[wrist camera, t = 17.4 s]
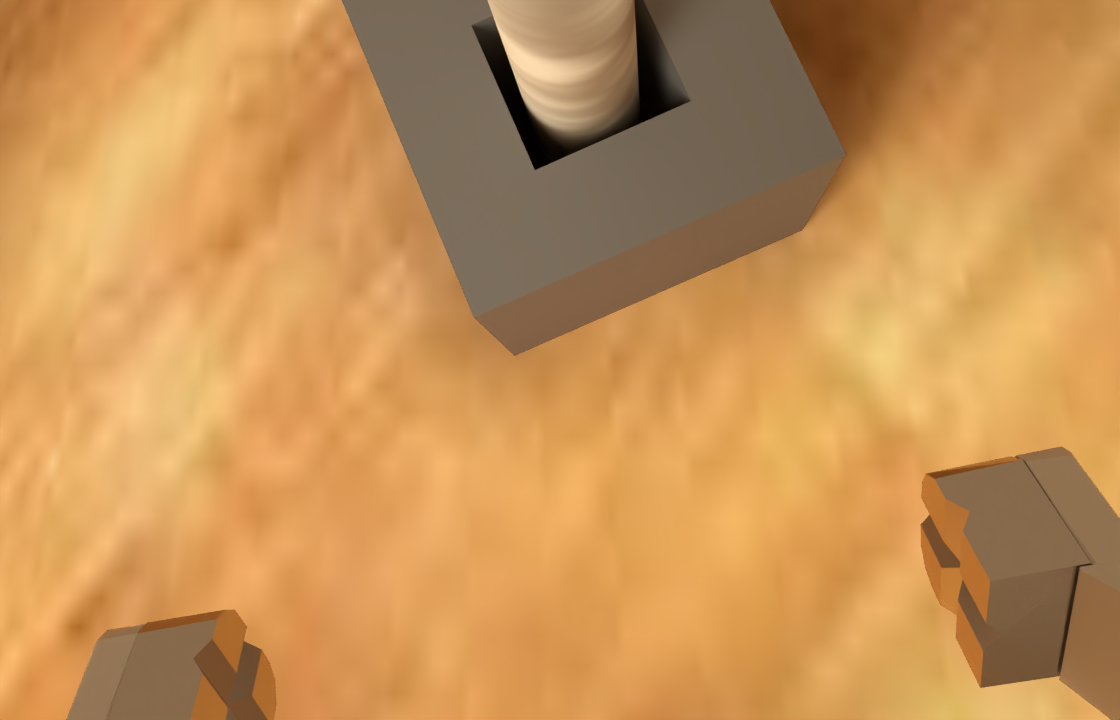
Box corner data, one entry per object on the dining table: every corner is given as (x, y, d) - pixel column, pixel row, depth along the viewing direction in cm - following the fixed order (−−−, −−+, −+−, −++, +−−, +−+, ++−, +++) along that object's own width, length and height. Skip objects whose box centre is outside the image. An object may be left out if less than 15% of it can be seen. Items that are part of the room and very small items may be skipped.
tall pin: (569, 218, 44) (509, 43, 27) (531, 134, 45) (448, -92, 27) (657, 179, 44) (656, -25, 26) (618, 95, 45) (592, -159, 27)
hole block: (514, 355, 44) (473, 317, 34) (401, 86, 46) (332, -23, 36) (802, 230, 43) (846, 154, 33) (674, -36, 45) (679, -181, 36)
